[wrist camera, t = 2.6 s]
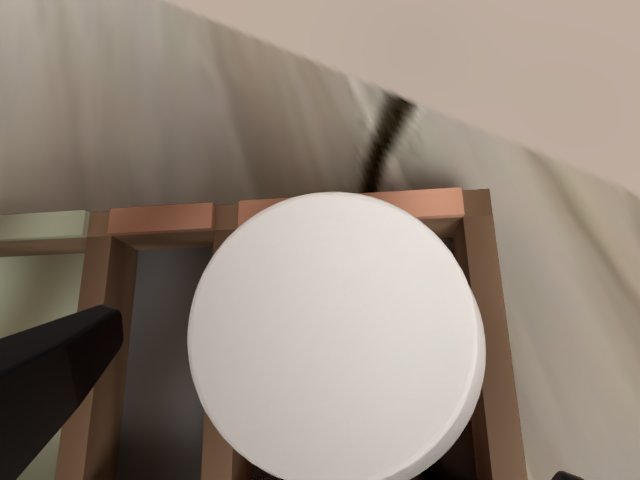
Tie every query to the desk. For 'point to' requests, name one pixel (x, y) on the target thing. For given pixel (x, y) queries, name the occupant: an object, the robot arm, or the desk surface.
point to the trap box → (172, 325)
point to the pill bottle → (336, 341)
